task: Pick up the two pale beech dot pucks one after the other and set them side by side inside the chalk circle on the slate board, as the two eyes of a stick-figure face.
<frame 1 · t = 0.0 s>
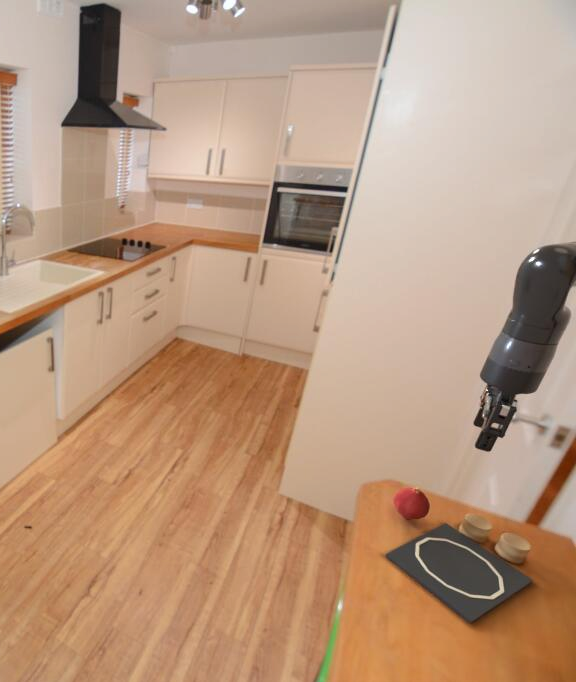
hand: (480, 437, 84), 20 cm above the countertop, tool pointing down, fingers open, 8 cm apart
onion: (405, 518, 94), on the countertop
dot a: (508, 554, 85), on the countertop
dot b: (471, 534, 89), on the countertop
slate board: (456, 569, 82), on the countertop
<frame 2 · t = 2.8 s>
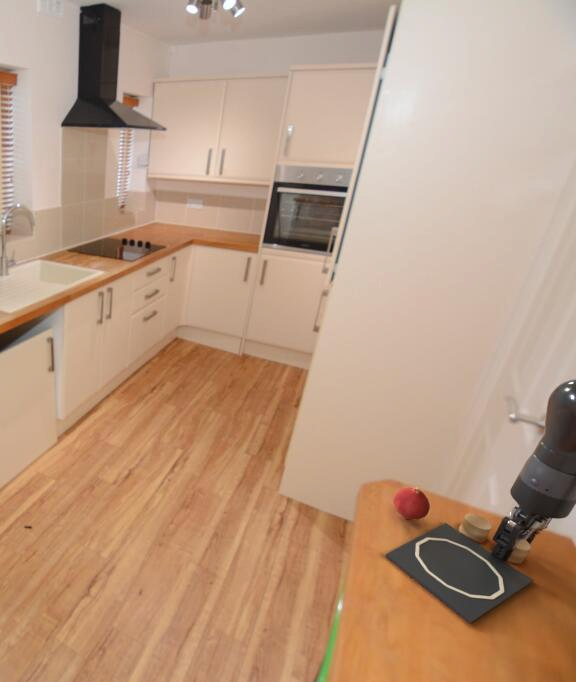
hand: (509, 551, 85), 1 cm above the countertop, tool pointing down, fingers open, 6 cm apart
nothing on the countertop moved.
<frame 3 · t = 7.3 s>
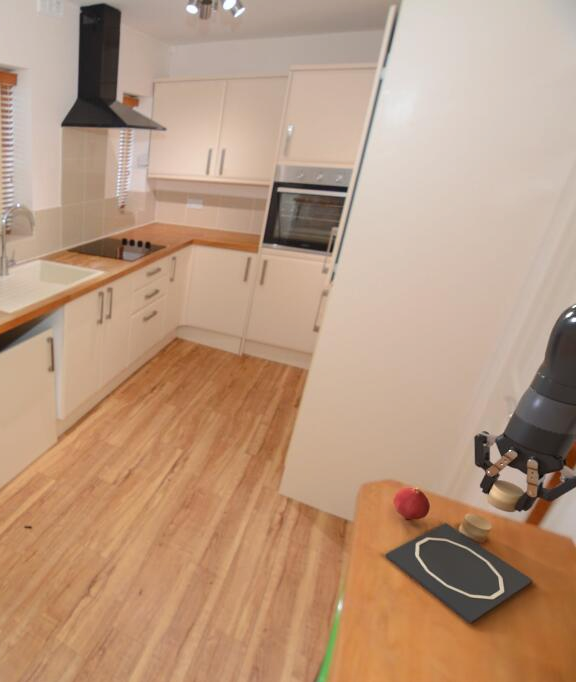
hand: (503, 499, 79), 14 cm above the countertop, tool pointing down, fingers closed on dot a, 4 cm apart
dot a: (501, 503, 79), point 13 cm above the countertop, touching gripper
everything else where it was.
when the fingers open (2 cm above the countertop, at t = 10.7 s): dot a stays where it is, resting on slate board.
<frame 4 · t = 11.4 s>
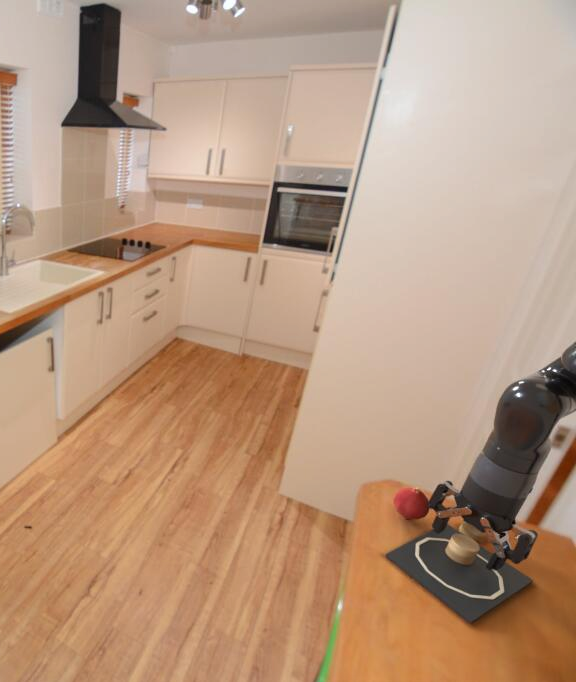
hand: (463, 549, 83), 3 cm above the countertop, tool pointing down, fingers open, 8 cm apart
dot a: (458, 555, 84), point 1 cm above the countertop, touching slate board
everything else where it was.
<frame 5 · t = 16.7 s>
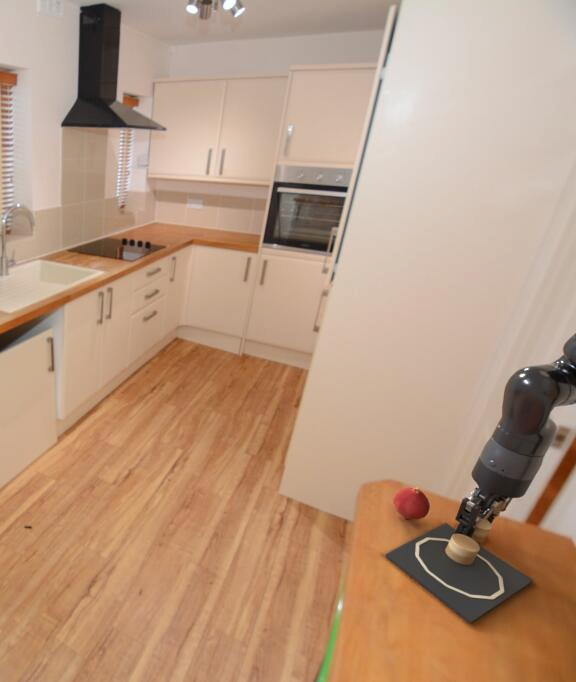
hand: (471, 532, 89), 1 cm above the countertop, tool pointing down, fingers open, 5 cm apart
nothing on the countertop moved.
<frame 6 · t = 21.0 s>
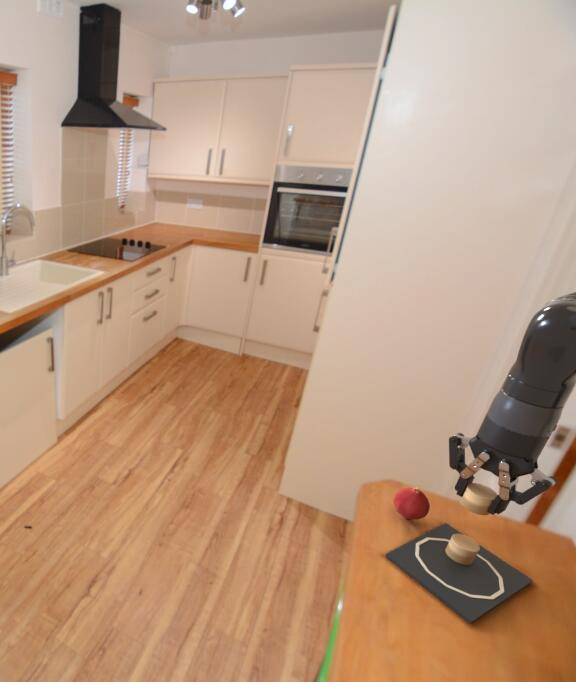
hand: (477, 502, 78), 14 cm above the countertop, tool pointing down, fingers closed on dot b, 4 cm apart
dot b: (474, 506, 78), point 13 cm above the countertop, touching gripper
everything else where it was.
when the fingers open (2 cm above the countertop, at t = 24.5 s): dot b stays where it is, resting on slate board.
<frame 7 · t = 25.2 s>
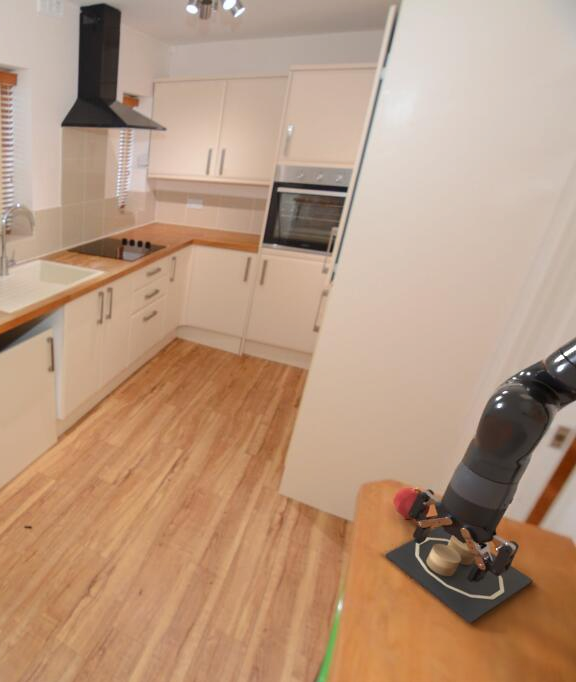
hand: (444, 559, 81), 3 cm above the countertop, tool pointing down, fingers open, 8 cm apart
dot b: (439, 566, 82), point 1 cm above the countertop, touching slate board
everything else where it was.
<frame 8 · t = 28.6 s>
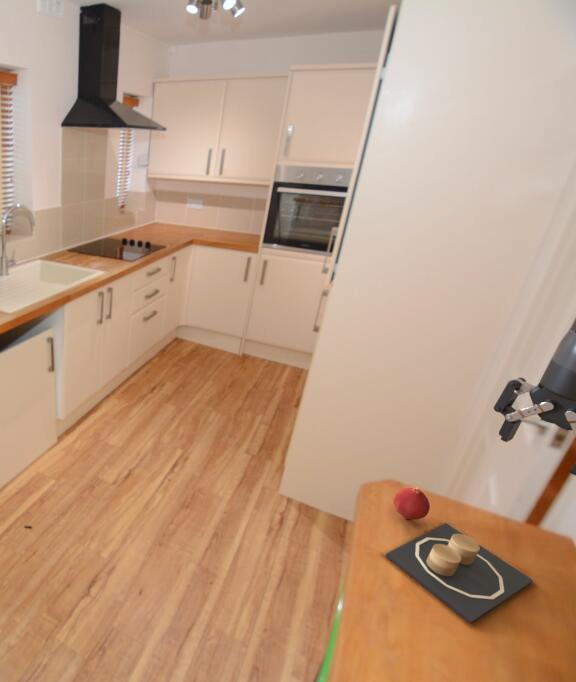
hand: (539, 455, 71), 26 cm above the countertop, tool pointing down, fingers open, 8 cm apart
nothing on the countertop moved.
at the end: dot a 1.3 cm from the target spot on the slate board, point 0.8 cm above the slate board's base; dot b 1.4 cm from the target spot on the slate board, point 0.8 cm above the slate board's base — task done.
